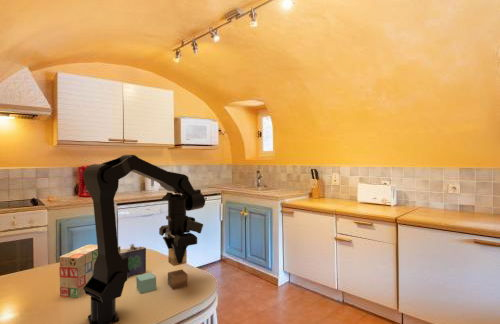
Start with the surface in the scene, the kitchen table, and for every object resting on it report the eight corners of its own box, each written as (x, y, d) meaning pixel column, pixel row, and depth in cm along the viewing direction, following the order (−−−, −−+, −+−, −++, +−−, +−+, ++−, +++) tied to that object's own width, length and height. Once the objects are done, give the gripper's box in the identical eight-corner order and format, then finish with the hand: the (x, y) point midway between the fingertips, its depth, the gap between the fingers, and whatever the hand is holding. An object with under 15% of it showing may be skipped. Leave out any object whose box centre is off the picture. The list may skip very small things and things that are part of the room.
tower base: (156, 290, 93) (156, 277, 93) (140, 294, 90) (140, 281, 90) (151, 284, 97) (151, 272, 97) (136, 288, 94) (136, 275, 94)
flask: (120, 279, 100) (120, 248, 100) (117, 277, 102) (117, 246, 102) (147, 272, 106) (147, 242, 106) (143, 270, 109) (143, 241, 108)
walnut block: (187, 286, 95) (187, 274, 95) (172, 290, 93) (172, 277, 93) (182, 281, 99) (181, 269, 99) (167, 284, 97) (167, 272, 97)
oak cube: (173, 266, 93) (173, 252, 93) (168, 262, 96) (168, 248, 96) (186, 263, 95) (186, 249, 95) (181, 259, 99) (181, 246, 99)
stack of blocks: (105, 269, 109) (105, 236, 109) (121, 271, 108) (121, 237, 108) (59, 297, 88) (59, 256, 88) (78, 298, 87) (77, 257, 87)
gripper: (212, 215, 92) (212, 264, 93) (189, 206, 108) (189, 249, 108) (178, 219, 86) (178, 272, 86) (158, 209, 101) (158, 255, 102)
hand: (177, 261), depth 96 cm, fingers closed on oak cube, 4 cm apart
